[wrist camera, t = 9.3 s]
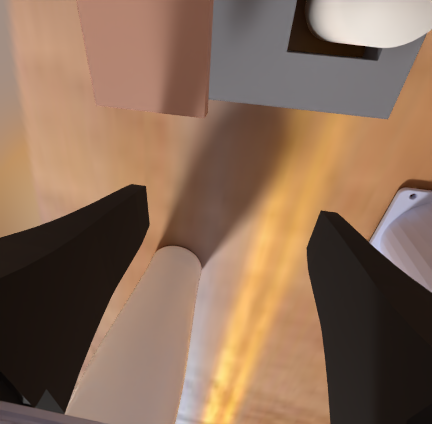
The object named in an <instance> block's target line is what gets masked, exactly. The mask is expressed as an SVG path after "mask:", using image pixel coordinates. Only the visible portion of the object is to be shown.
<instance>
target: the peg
mask: <svg viewBox="0 0 432 424" xmlns="http://www.w3.org/2000/svg"><path fill="white" fill-rule="evenodd" d="M305 18H306V23H307V26H308V28H309V30H310V31H311V33H312V34H313V35H314V36H315V37H316V38H318V39H320V40H323V41H327V42H335V43H344V44H352V45H361V46H369V47H378V48H391V47H397V46H401V45H404V44H407V43H409V42H412V41H414V40H416V39H418V38H419V37H421V36H423V35H424V34H426V33H427V32H429V31H430V30H431V29H432V0H306V5H305Z"/></svg>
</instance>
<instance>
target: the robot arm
mask: <svg viewBox="0 0 432 424" xmlns="http://www.w3.org/2000/svg"><path fill="white" fill-rule="evenodd" d="M411 194H414V195H413V196H412V197H409V196H410V195H411ZM149 225H150V223H149V213H148V203H147V193H146V186H141V185H134V184H131V185H129V186H126V187H124V188H122V189H120V190H118V191H116V192H114V193H112V194H110V195H108V196H106V197H104V198H102V199H100V200H98V201H96V202H94V203H92V204H90V205H88V206H86V207H83V208H81V209H79V210H77V211H75V212H72V213H70V214H68V215H66V216H63V217H61V218H58V219H56V220H53V221H51V222H48V223H45V224H42V225H40V226H37V227H34V228H31V229H28V230H24V231H21V232H18V233H14V234H11V235H8V236H4V237H1V238H0V424H107V423H102V422H98V421H93V420H88V419H84V418H79V417H74V416H70V415H65V412H66V409H67V406H68V403H69V400H70V398H71V395H72V392H73V389H74V386H75V384H76V381H77V378H78V375H79V373H80V370H81V367H82V365H83V362H84V360H85V357H86V355H87V352H88V350H89V347H90V345H91V342H92V340H93V337H94V335H95V333H96V330H97V328H98V326H99V323H100V321H101V319H102V316H103V314H104V312H105V310H106V308H107V305H108V303H109V301H110V299H111V297H112V295H113V293H114V291H115V289H116V287H117V285H118V284H119V282H120V280H121V279H122V277H123V275H124V274H125V272H126V270H127V268H128V267H129V265H130V263H131V262H132V260H133V258H134V257H135V255H136V253H137V251H138V250H139V248H140V246H141V244H142V242H143V240H144V238H145V235H146V233H147V230H148V228H149ZM307 262H308V271H309V276H310V280H311V285H312V289H313V294H314V298H315V302H316V306H317V311H318V315H319V319H320V324H321V330H322V337H323V345H324V353H325V362H326V372H327V383H328V395H329V409H330V424H432V191H431V190H423V189H415V188H402V189H400V190H399V191H398V192H397V194H396V195H395V197H394V199H393V201H392V202H391V204H390V206H389V208H388V209H387V211H386V213H385V215H384V217H383V218H382V220H381V222H380V224H379V225H378V227H377V229H376V231H375V232H374V234H373V236H372V238H371V240H370V241H369V242H368V241H367V240H366V239H365V238H364V237H363V236H362V235H361V234H360V233H359V232H357V231H356V230H355V229H354V228H353V227H352V226H351V225H350V224H349V223H348V222H347V221H346V220H345V219H344V218H342V217H341V216H340V215H339V214H338V213H335V212H328V211H321V212H320V214H319V217H318V220H317V222H316V225H315V227H314V230H313V233H312V235H311V238H310V241H309V243H308V246H307Z"/></svg>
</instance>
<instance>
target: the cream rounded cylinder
mask: <svg viewBox="0 0 432 424" xmlns="http://www.w3.org/2000/svg"><path fill="white" fill-rule="evenodd" d="M201 270H202V268H201V263H200V261H199V259H198V258H197V256H196V255H195V254H194V253H192V252H191V251H189V250H188V249H186V248H183V247H179V246H166V247H163V248H161V249H159V250H158V251H156V252H155V254H154V255H153V257H152V259H151V261H150V263H149V265H148V267H147V269H146V270H145V272H144V274H143V275H142V277H141V278H140V280H139V282H138V283H137V285H136V287H135V288H134V290H133V292H132V293H131V295H130V296H129V298H128V300H127V301H126V303H125V304H124V306H123V308H122V309H121V311H120V313H119V314H118V316H117V317H116V319H115V321H114V322H113V324H112V325H111V327H110V329H109V330H108V332H107V333H106V335H105V337H104V338H103V340H102V342H101V343H100V345H99V347H98V348H97V350H96V352H95V353H94V355H93V357H92V359H91V360H90V362H89V364H88V366H87V368H86V370H85V372H84V373H83V375H82V377H81V379H80V381H79V383H78V385H77V387H76V389H75V391H74V393H73V395H72V397H71V400H70V402H69V404H68V406H67V409H66V412H65V415H70V416H74V417H79V418H84V419H88V420H93V421H98V422H102V423H107V424H175V421H176V417H177V412H178V408H179V404H180V399H181V394H182V389H183V384H184V378H185V372H186V366H187V359H188V352H189V345H190V338H191V331H192V324H193V317H194V310H195V303H196V297H197V290H198V284H199V280H200V276H201Z"/></svg>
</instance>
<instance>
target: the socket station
mask: <svg viewBox="0 0 432 424" xmlns="http://www.w3.org/2000/svg"><path fill="white" fill-rule="evenodd" d="M76 1H77V7H78V12H79V17H80V23H81V28H82V33H83V39H84V44H85V49H86V55H87V60H88V65H89V71H90V76H91V81H92V87H93V92H94V97H95V103H96V106H104V107H113V108H121V109H130V110H138V111H147V112H155V113H164V114H173V115H181V116H190V117H198V118H205V116H206V115H207V113H208V99H211V100H220V101H229V102H238V103H247V104H256V105H265V106H274V107H283V108H292V109H301V110H310V111H319V112H327V113H336V114H345V115H354V116H363V117H372V118H381V119H388V118H389V116H390V114H391V111H392V109H393V107H394V105H395V102H396V100H397V98H398V96H399V94H400V91H401V89H402V87H403V85H404V83H405V80H406V78H407V76H408V74H409V72H410V69H411V67H412V65H413V63H414V61H415V58H416V56H417V54H418V52H419V49H420V47H421V45H422V43H423V41H424V38H425V36H426V34H427V33H426V34H424V35H423V36H421V37H419V38H418V39H416V40H414V41H412V42H409V43H407V44H404V45H401V46H397V47H391V48H378V47H369V46H366V47H365V50H364V53H363V56H362V57H352V56H342V55H331V54H321V53H310V52H300V51H289V50H287V48H288V43H289V38H290V33H291V28H292V23H293V18H294V13H295V8H296V3H297V0H76Z"/></svg>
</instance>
